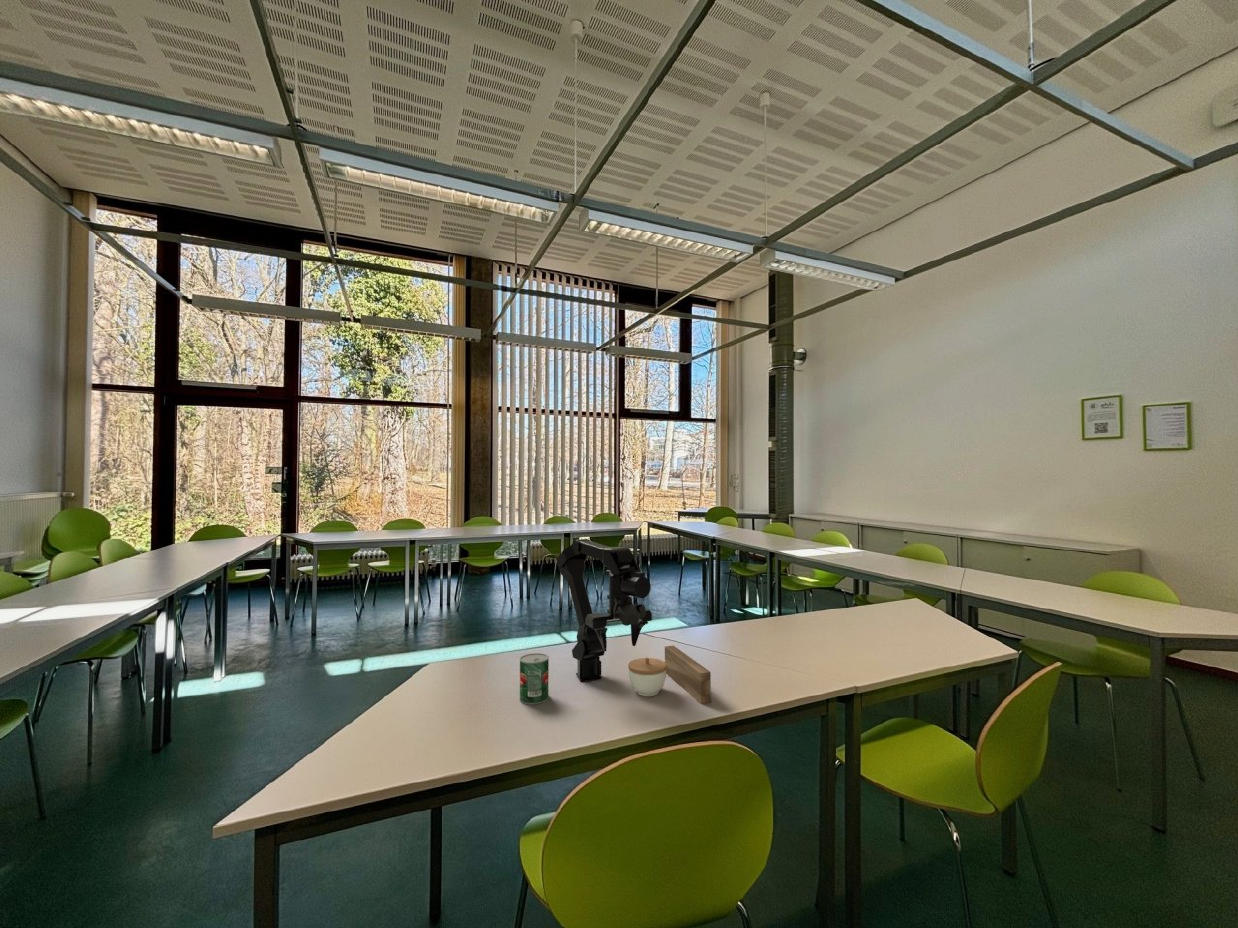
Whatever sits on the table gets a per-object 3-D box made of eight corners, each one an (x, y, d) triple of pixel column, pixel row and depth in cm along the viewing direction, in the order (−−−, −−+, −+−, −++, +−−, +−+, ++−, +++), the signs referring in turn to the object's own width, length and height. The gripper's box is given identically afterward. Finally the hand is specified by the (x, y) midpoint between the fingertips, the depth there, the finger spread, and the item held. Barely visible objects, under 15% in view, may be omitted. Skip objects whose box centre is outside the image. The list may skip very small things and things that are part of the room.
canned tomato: (514, 697, 138) (514, 656, 139) (540, 690, 143) (540, 651, 143) (527, 707, 132) (527, 664, 132) (554, 699, 137) (554, 658, 137)
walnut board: (700, 703, 133) (700, 673, 134) (664, 672, 156) (664, 646, 156) (710, 702, 134) (710, 671, 134) (673, 671, 157) (673, 645, 157)
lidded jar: (620, 692, 141) (620, 658, 142) (646, 681, 149) (646, 649, 149) (648, 703, 134) (648, 667, 134) (674, 691, 141) (674, 657, 142)
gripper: (601, 601, 131) (601, 662, 130) (662, 594, 139) (662, 651, 138) (584, 593, 140) (584, 650, 140) (642, 587, 149) (642, 640, 148)
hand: (619, 648), depth 141 cm, fingers open, 9 cm apart
